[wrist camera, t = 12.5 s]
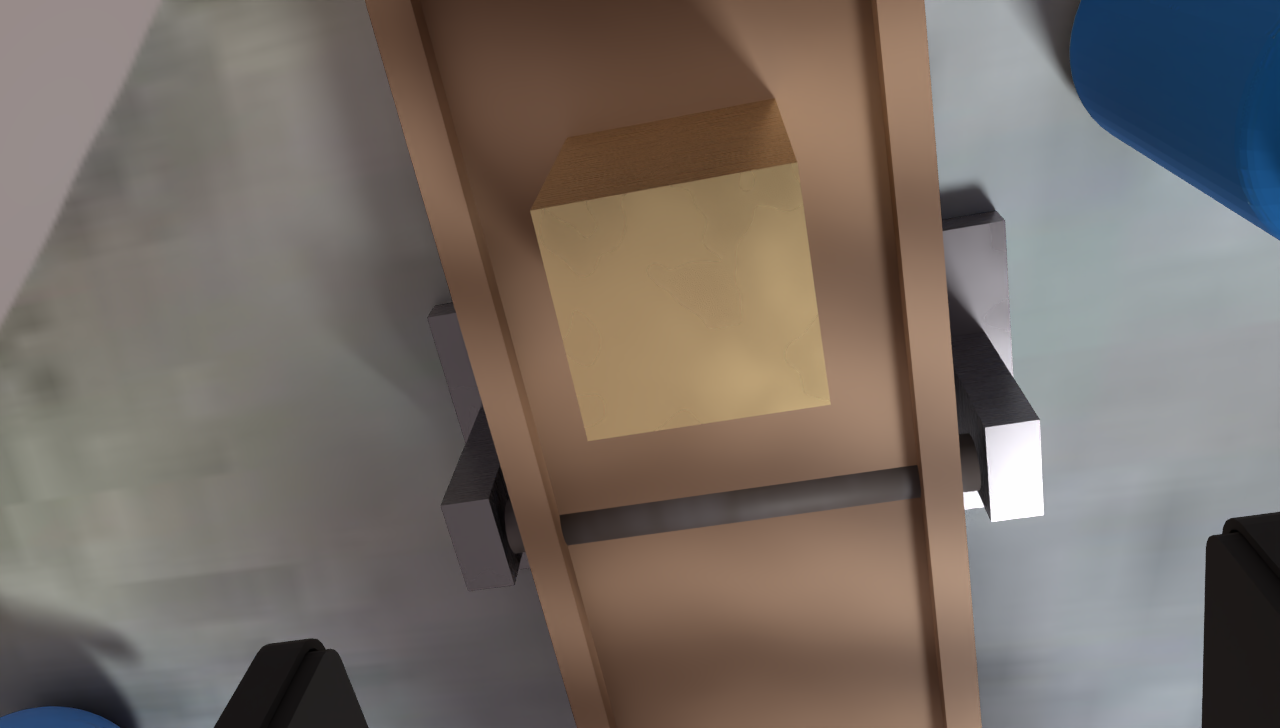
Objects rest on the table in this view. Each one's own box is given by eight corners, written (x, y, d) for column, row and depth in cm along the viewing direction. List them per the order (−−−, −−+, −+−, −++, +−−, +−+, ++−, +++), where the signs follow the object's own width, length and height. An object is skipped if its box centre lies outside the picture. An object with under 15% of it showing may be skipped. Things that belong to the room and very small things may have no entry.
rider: (803, 295, 26) (830, 404, 21) (609, 327, 27) (587, 441, 21) (775, 98, 24) (797, 162, 19) (566, 137, 25) (530, 210, 19)
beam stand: (1011, 486, 36) (1076, 612, 30) (509, 554, 38) (473, 685, 32) (996, 210, 32) (1067, 291, 26) (434, 306, 34) (376, 400, 28)
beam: (998, 864, 36) (1024, 950, 33) (629, 897, 38) (624, 982, 35) (915, -228, 22) (947, -243, 20) (340, -99, 24) (291, -96, 21)
